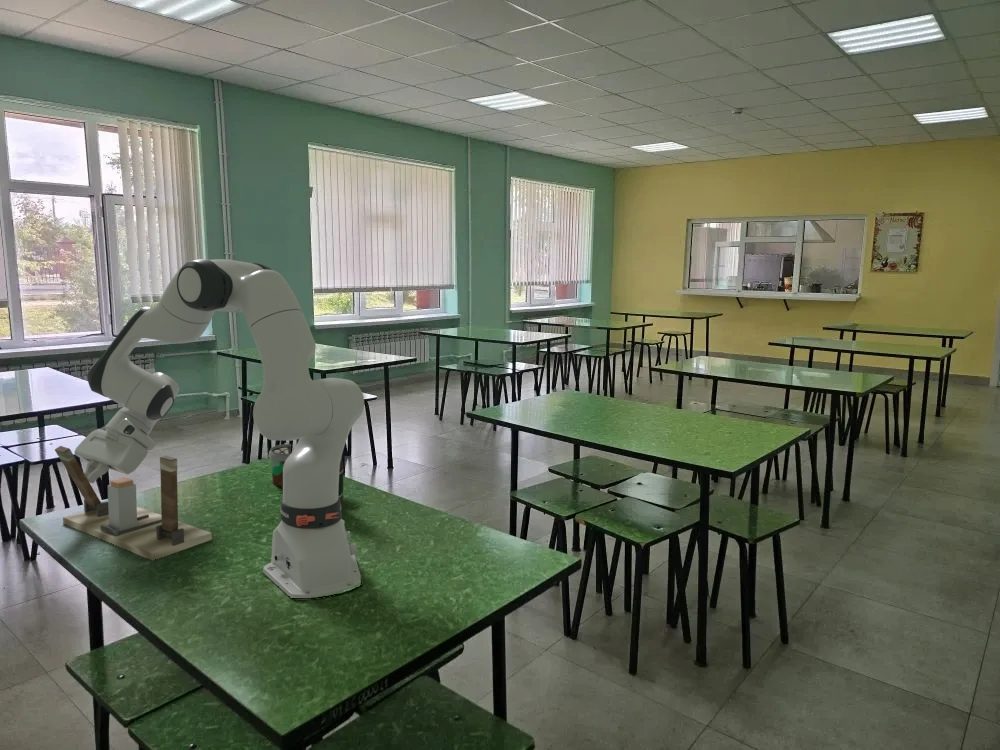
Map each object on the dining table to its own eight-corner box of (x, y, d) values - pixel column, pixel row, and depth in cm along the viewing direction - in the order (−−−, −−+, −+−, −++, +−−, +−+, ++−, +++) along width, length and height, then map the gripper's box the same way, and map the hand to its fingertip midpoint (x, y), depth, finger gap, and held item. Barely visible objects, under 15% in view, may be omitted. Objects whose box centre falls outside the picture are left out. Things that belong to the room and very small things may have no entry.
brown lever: (168, 534, 146) (166, 455, 143) (179, 538, 144) (177, 458, 142) (160, 537, 144) (159, 457, 142) (171, 541, 143) (169, 460, 140)
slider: (126, 523, 152) (125, 476, 151) (137, 527, 150) (135, 480, 149) (109, 528, 149) (107, 480, 147) (119, 532, 147) (118, 484, 145)
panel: (211, 539, 150) (211, 520, 149) (152, 560, 138) (152, 539, 137) (122, 507, 167) (122, 489, 166) (63, 523, 154) (62, 504, 154)
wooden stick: (97, 505, 160) (61, 445, 151) (105, 509, 158) (70, 448, 149) (90, 510, 158) (53, 449, 150) (99, 513, 157) (62, 452, 148)
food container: (268, 476, 197) (268, 443, 196) (290, 476, 199) (290, 443, 197) (267, 490, 185) (267, 455, 184) (290, 489, 187) (291, 454, 186)
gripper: (92, 418, 165) (52, 465, 158) (141, 431, 155) (100, 482, 148) (111, 432, 169) (73, 479, 163) (160, 446, 159) (121, 496, 152)
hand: (86, 480), depth 155 cm, fingers closed, pressing on wooden stick
